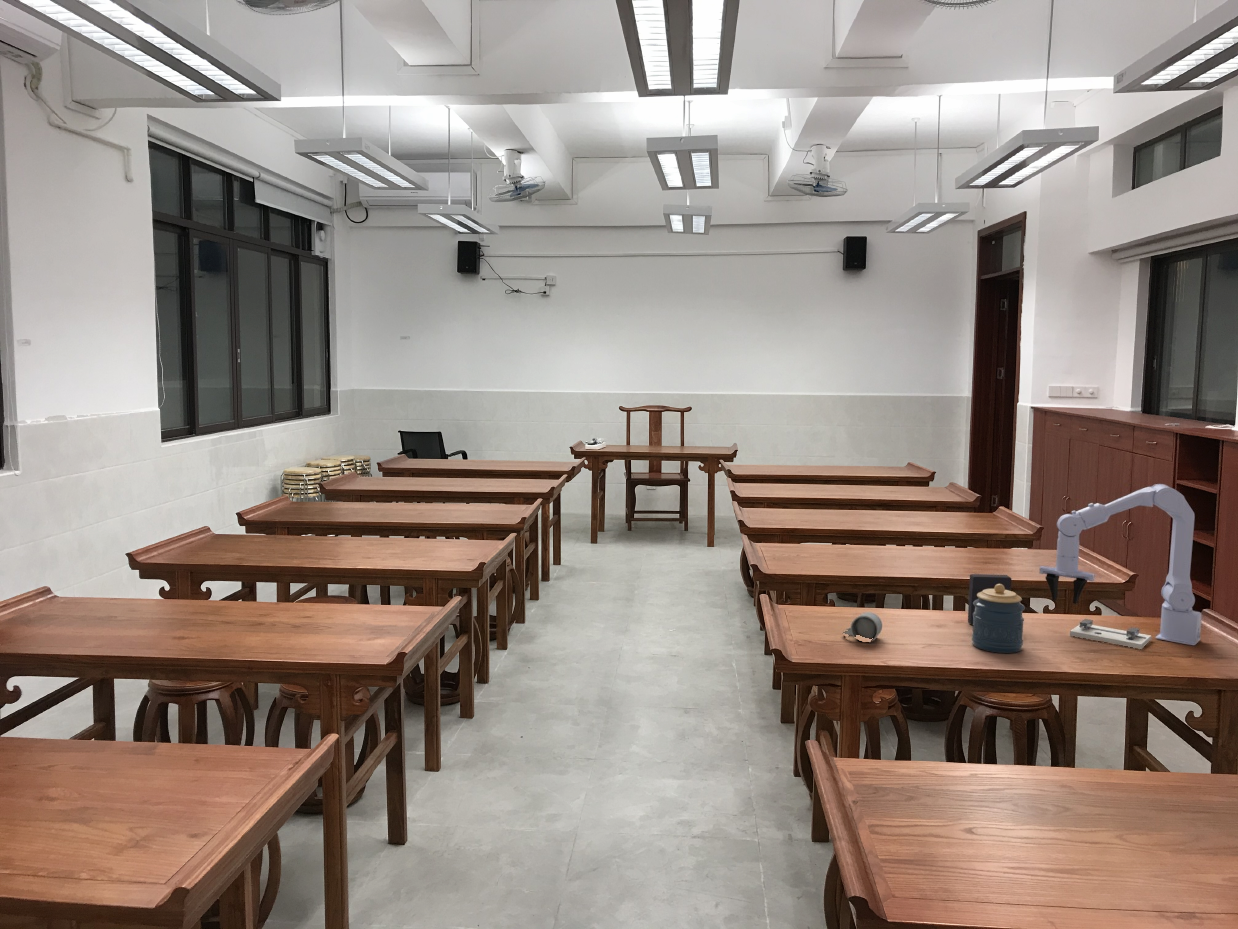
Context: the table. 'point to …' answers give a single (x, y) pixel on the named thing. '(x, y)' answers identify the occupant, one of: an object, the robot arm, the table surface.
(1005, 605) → the canister
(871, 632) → the ceramic mug
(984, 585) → the calculator
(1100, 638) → the board
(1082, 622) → the block
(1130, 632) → the fixed point
